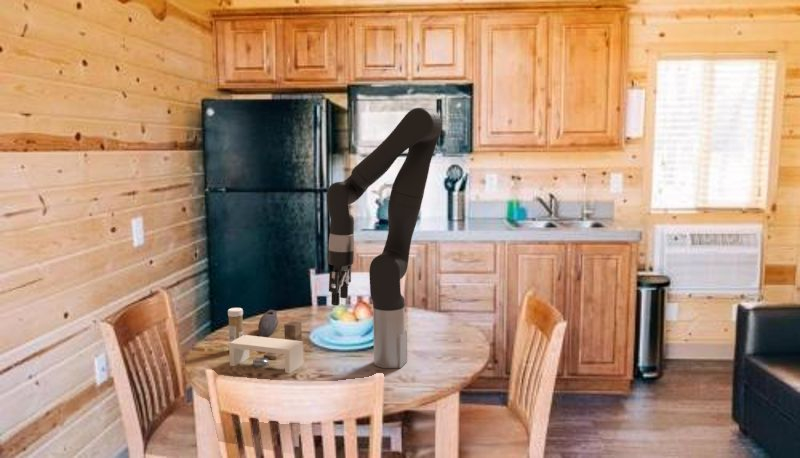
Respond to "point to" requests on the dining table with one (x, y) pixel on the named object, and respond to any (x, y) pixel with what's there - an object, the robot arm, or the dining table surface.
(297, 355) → the shelf
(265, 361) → the silver metal dome
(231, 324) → the sprinkles bottle
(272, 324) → the perforated stone tool
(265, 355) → the brown l-shaped block
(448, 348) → the dining table surface
